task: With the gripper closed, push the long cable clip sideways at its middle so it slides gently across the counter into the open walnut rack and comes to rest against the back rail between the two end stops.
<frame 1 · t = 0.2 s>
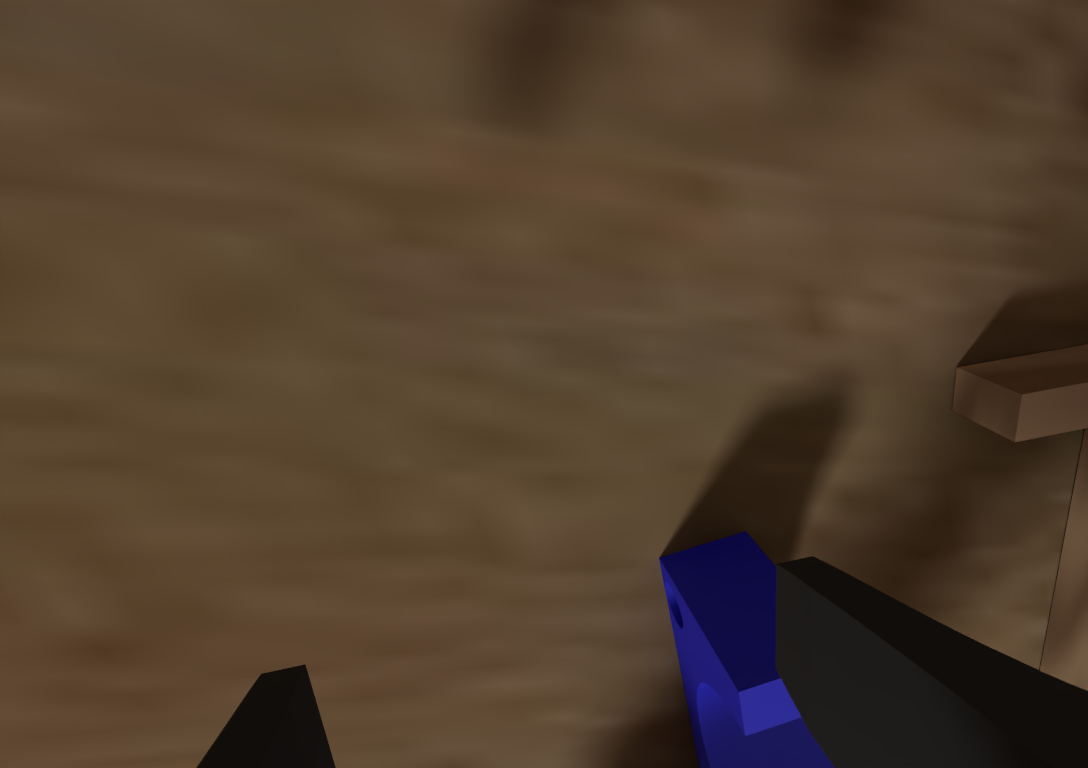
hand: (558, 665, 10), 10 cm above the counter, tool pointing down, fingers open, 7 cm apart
wooden rack: (1002, 594, 25), on the counter
cable clip: (739, 667, 25), on the counter
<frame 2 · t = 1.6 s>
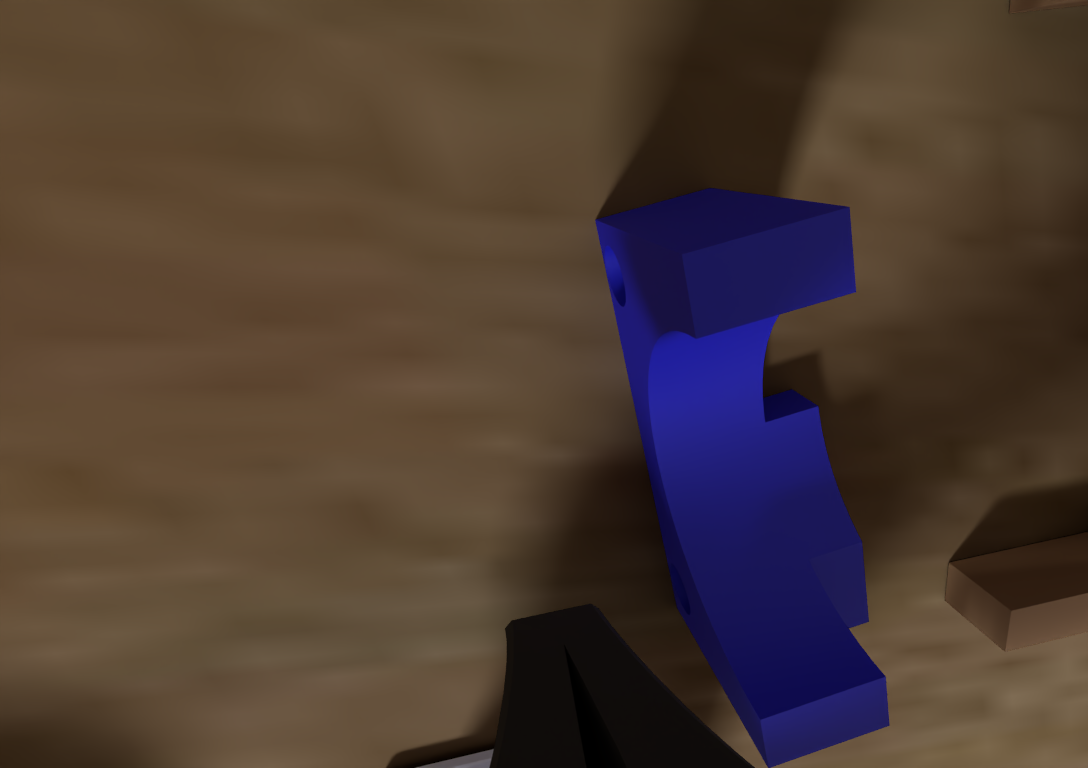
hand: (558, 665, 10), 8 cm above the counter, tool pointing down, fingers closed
wooden rack: (1066, 310, 20), on the counter
cable clip: (711, 407, 19), on the counter
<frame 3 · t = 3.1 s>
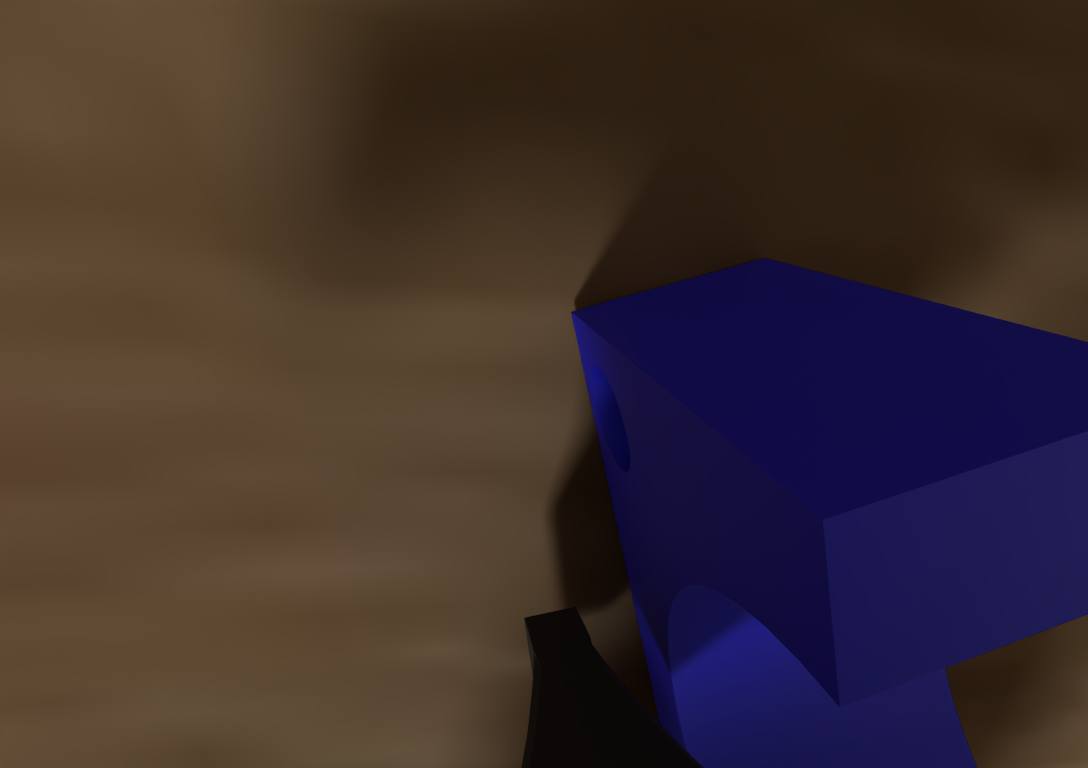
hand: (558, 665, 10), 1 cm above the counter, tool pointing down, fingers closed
cable clip: (756, 595, 12), on the counter, touching gripper
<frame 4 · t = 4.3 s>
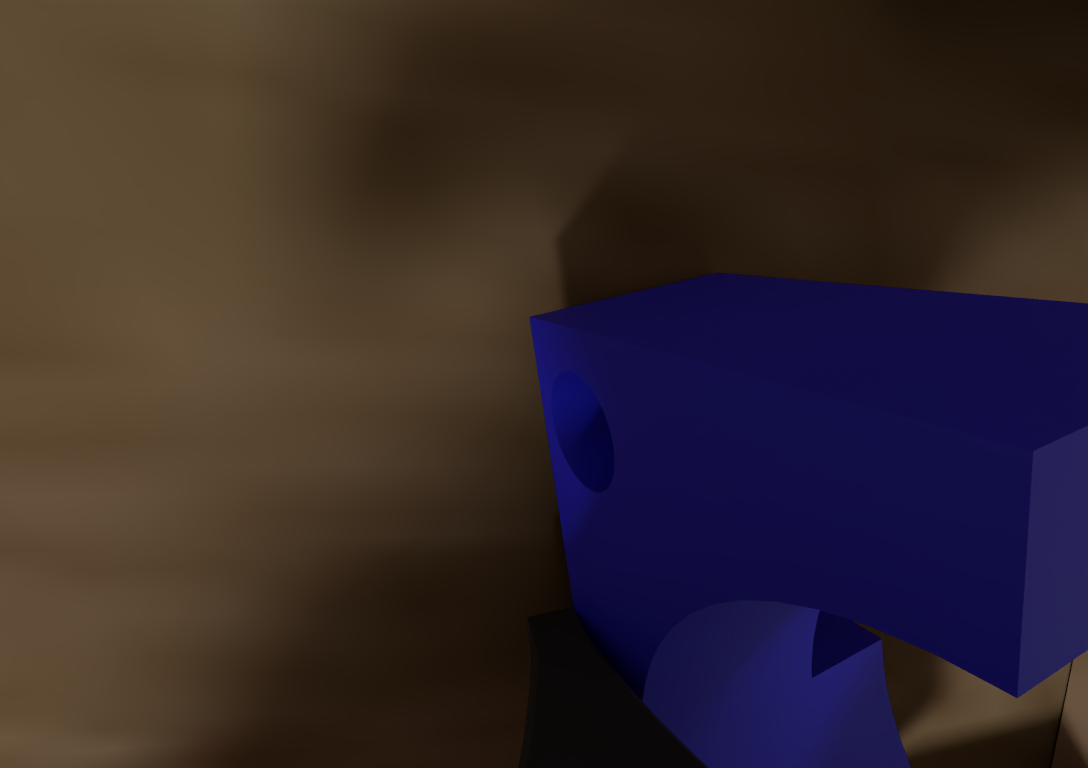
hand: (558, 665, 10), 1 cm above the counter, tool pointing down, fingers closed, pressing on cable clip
wooden rack: (1003, 478, 12), on the counter
cable clip: (699, 638, 11), on the counter, touching gripper
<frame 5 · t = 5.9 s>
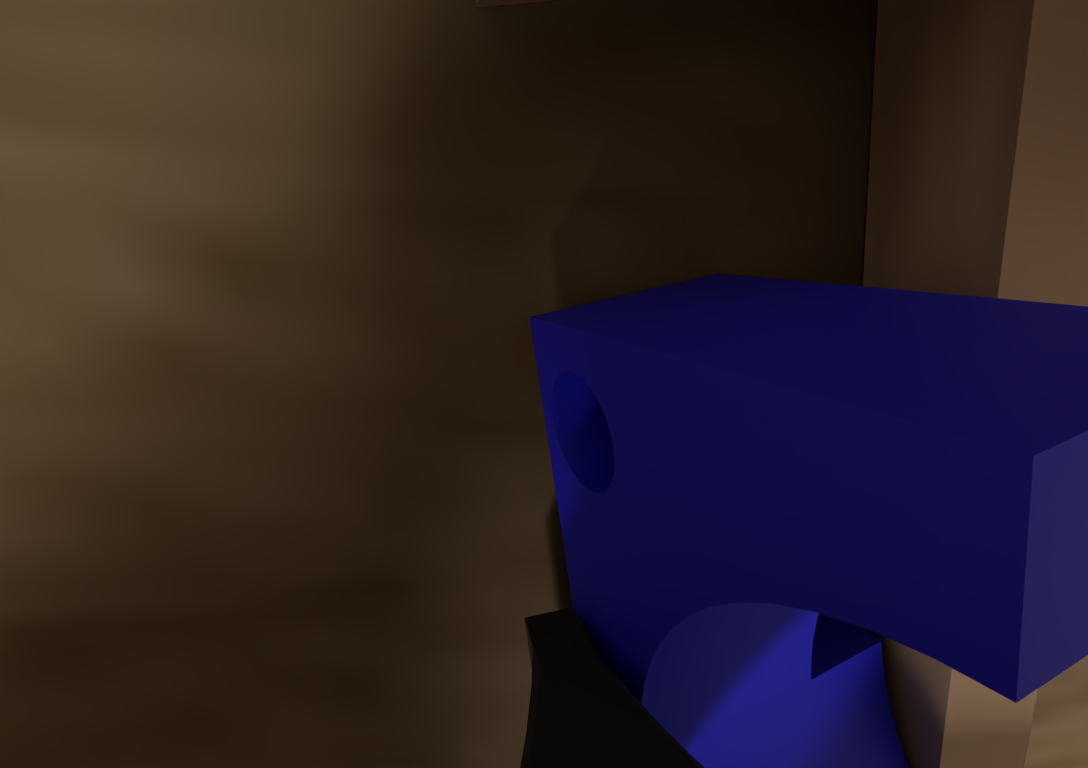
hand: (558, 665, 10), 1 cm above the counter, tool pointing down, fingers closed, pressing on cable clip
wooden rack: (725, 534, 11), on the counter
cable clip: (698, 639, 11), on the counter, touching gripper, wooden rack
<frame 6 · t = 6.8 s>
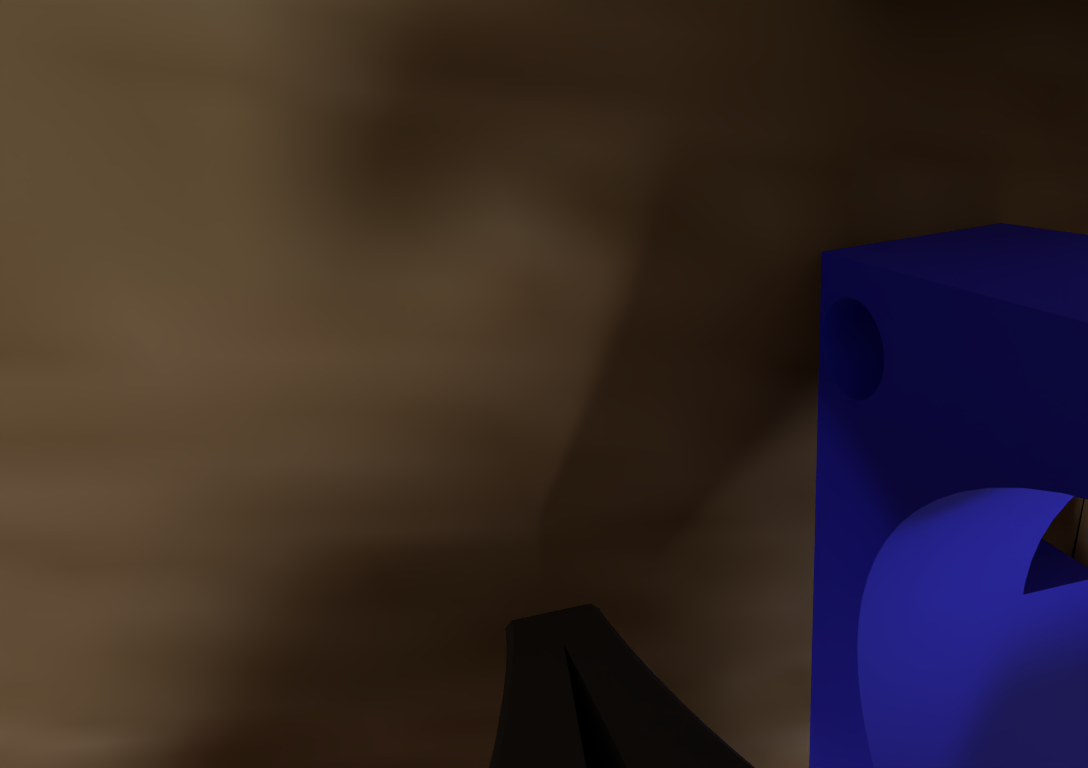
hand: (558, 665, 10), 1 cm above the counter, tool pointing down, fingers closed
wooden rack: (982, 473, 12), on the counter
cable clip: (913, 547, 13), on the counter
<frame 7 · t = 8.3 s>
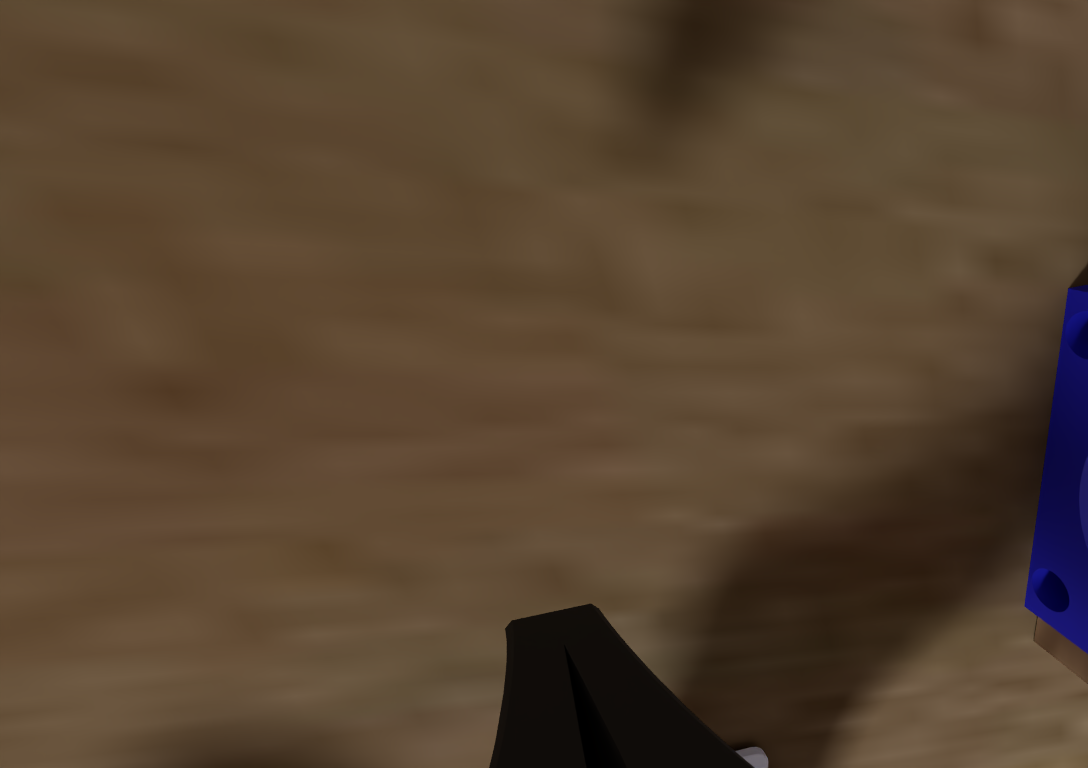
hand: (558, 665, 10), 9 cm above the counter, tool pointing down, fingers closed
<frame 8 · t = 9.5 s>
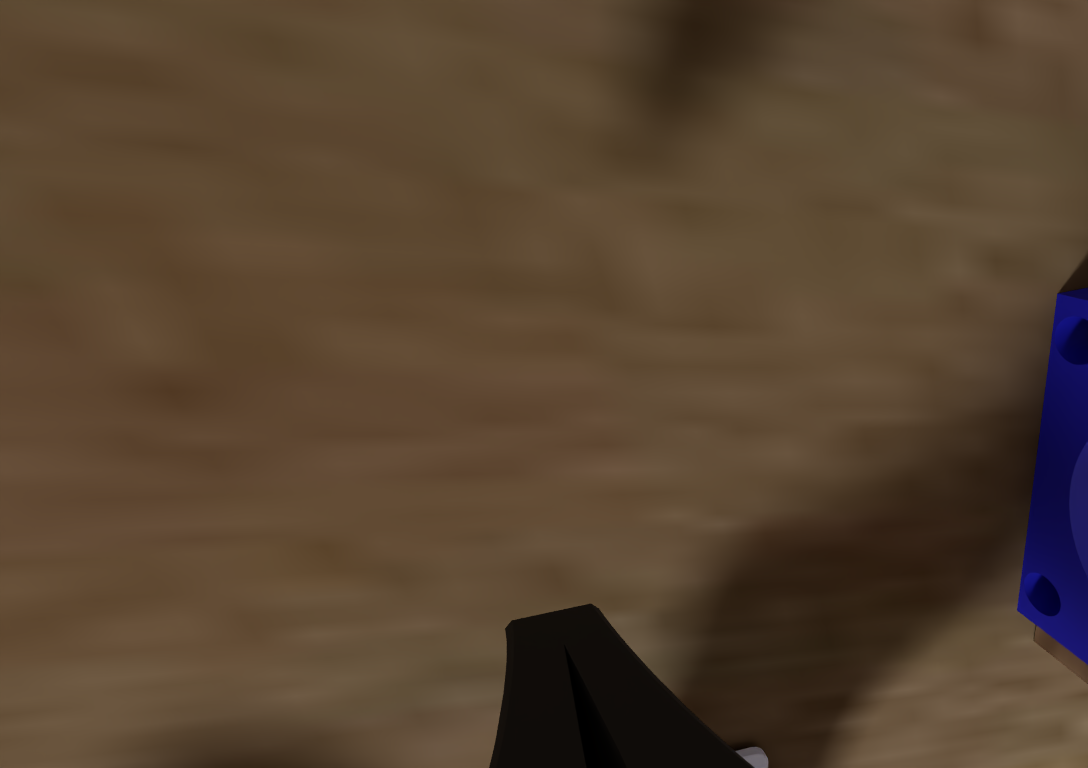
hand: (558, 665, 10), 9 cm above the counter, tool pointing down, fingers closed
cable clip: (1084, 448, 24), on the counter
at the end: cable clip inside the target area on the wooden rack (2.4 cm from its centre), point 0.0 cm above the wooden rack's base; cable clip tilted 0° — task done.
